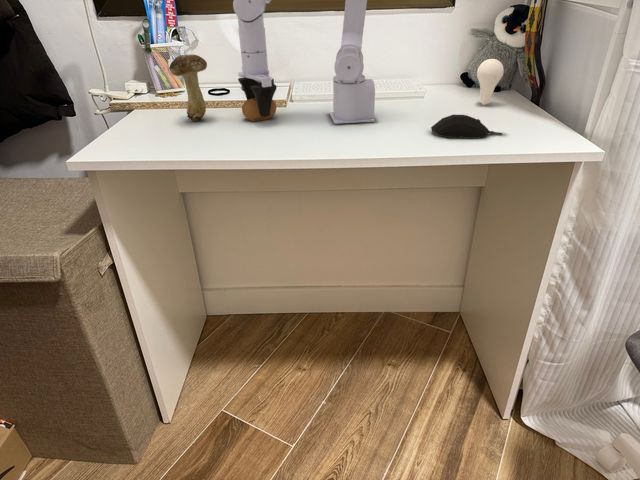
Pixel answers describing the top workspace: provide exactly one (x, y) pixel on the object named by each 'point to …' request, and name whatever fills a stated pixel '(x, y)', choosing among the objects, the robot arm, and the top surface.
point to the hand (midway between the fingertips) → (259, 111)
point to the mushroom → (191, 82)
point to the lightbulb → (489, 78)
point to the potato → (256, 110)
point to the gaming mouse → (461, 127)
